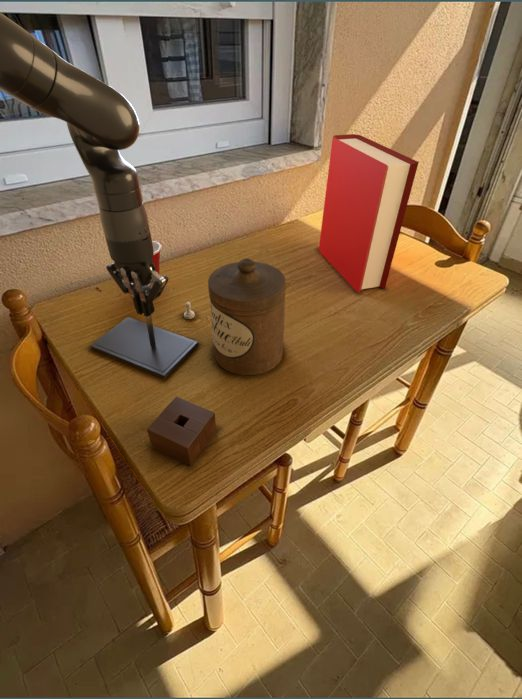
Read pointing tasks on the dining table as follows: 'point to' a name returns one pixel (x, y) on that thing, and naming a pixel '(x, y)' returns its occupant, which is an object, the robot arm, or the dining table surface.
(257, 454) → the dining table surface
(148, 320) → the stylus
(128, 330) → the plate
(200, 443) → the stylus stand
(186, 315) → the pawn
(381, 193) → the book
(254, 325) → the wooden container
